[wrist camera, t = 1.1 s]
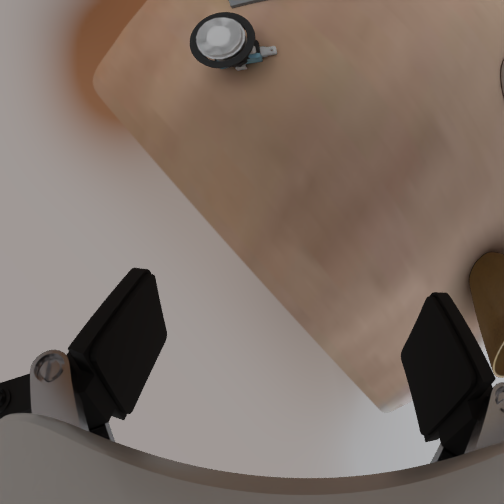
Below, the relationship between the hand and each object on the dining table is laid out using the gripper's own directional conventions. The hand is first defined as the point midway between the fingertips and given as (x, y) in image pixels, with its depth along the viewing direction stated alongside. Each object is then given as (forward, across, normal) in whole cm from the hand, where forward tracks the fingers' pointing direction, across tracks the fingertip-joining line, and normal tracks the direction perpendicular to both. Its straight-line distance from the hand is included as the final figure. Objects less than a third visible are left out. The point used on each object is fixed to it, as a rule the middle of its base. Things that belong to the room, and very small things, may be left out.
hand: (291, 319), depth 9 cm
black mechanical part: (+25, +5, -13) cm, 28 cm away
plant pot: (+25, -33, +11) cm, 43 cm away
